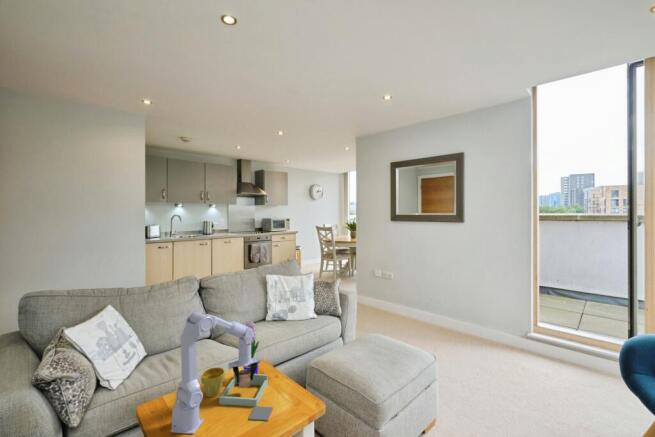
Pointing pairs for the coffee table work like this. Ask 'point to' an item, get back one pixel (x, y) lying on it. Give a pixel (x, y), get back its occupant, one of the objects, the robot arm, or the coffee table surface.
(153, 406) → the coffee table surface
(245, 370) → the terracotta pot
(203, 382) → the plant pot
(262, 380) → the frame
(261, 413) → the slate pad
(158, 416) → the coffee table surface
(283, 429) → the coffee table surface
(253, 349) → the hyacinth
